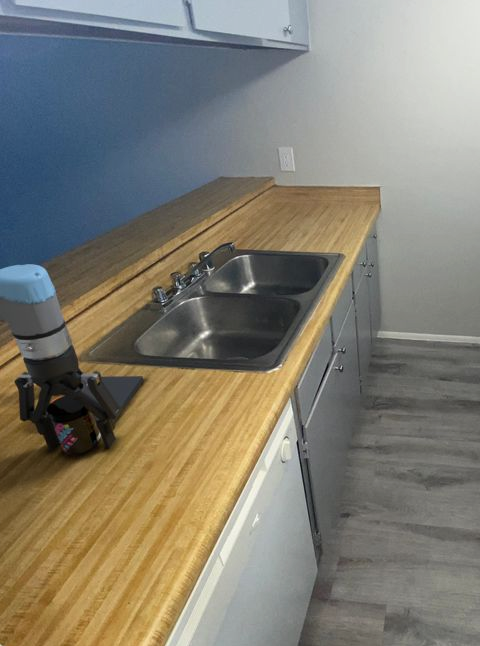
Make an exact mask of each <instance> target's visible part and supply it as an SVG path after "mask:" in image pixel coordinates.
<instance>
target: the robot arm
mask: <svg viewBox="0 0 480 646" xmlns="http://www.w3.org/2000/svg"><path fill="white" fill-rule="evenodd" d="M56 292H57V290H56V288H55V286H54V284H53V282H52V280H51V278H50V275H49V273H48V270H47V269H45V268H44V267H43V266H41V265H38V264H31V263H27V264H15V265H9V266H5V267H3V268H0V322H2V323H3V322H6V323H7V324H8V326H9V329H10V330H11V334H12V336H13V338H14V340H15V343H16V345H17V348H18V350H19V352H20V355H21V356H22V357H23V358H22V361H23V363H24V365H25V368H26V371H23V372H22V373H21V374H20V375H19V376H18V377H17V378H16V379H15V380H14V384H15V386H16V388H17V391H18V408H19V420H20V421H21V422H27V421H29V422H31V423H32V424H33V425H34V426H35V427H36V431H37V434H39V435H40V436H43V438H44V441H45V443H46V446H47V448H48V451H54V450H55V449H56V448H57V446H58V445H59V444H60V442H59V439H58V437H57V434H56V432H55V429H54V427H53V424H52V422H51V420H50V418H49V415H47V416H46V414H47V407H48V406H49V404H50V403H51V402H52V398H53V396H55V397H57V396H64V395H69V396H70V397H71V398H72V399H74V400H75V399H76V400H78V401H79V402H80V403H81V404H82V405H83V406H84V407H85V408H87V409H88V410H89V411H90V412H91V413H92V414H93V415H94V416H96V417H97V418H98V419H99V421H98V422H97V425H98V428H99V431H100V434H101V437H102V438H101V441H102V443H103V445H104V448H105V449H106V450H108V449H111V447H112V446H113V444H114V442H115V441H116V435H115V433H114V431H115V430H116V423H115V422H114V420H113V419H115V418H116V417H117V416H118V414H119V413H120V411H121V408H120V406H119V405H118V403H117V402H116V400H115V399H114V398H113V396H112V395H111V393H110V392H109V390H108V389H107V387H106V386H105V385H104V383H103V382H102V378H101V377H102V375H101V372H100V371H98V370H94V371H93V372H92V373H84V372H83V371H82V370H81V368H80V366H79V358H78V355H77V352H76V349H75V347H74V345H73V340H72V337H71V335H70V331H69V329H68V326H67V323H66V321H65V319H64V315H63V311H62V308H61V306H60V303H59V299H58V296H57V293H56ZM83 381H84V382H85V383H86V384H85V383H84V382H83ZM35 386H37V387H39V388H40V391H39V394H38V400H37V403H36V402H35ZM78 387H79V390H78V391H77V392H76V389H77V388H78ZM88 387H89V389H90V390H89V389H88ZM35 403H36V405H35ZM45 416H46V417H45Z"/></svg>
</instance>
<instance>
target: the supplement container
mask: <svg viewBox="0 0 480 646" xmlns="http://www.w3.org/2000/svg"><path fill="white" fill-rule="evenodd" d="M62 396H63V397H61V396H59V397H60V398H58V397H57V398H58V399H56V400H55V401H53V402H52V401H51V402H52V403H51V402H50V403H51V404H50V405H49V406H48V407H47V413H48V415H49V418H50V420H51V422H52V424H53V427H54V429H55V432H56V434H57V437H58V439H59V444H60V447H61V449H62V452H63V453H64V454H66V455H68V456H72V457H78V456H84V455H86V454H89V453H90V452H93V451H94V450H96V449H97V448H98V446H99V445H100V444H101V442H102V437H101V434H100V431H99V428H98V425H97V422H96V419H95V416H94V415H93V414H92V413H91V412H90V411H89V410H88V409H87V408H85V407H84V406H83V405H82V404H81V403H80V402H79V401H78V400H76V399H75V400H74V399H72V398H71V397H70V396H69V395H66V396H64V395H62Z"/></svg>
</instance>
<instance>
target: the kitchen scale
mask: <svg viewBox="0 0 480 646" xmlns="http://www.w3.org/2000/svg"><path fill="white" fill-rule="evenodd" d="M101 378H102V382H103V383H104V385H105V386H106V387H107V389H108V390H109V392H110V393H111V395H112V396H113V398H114V399H115V400H116V402H117V403H118V405H119V406H120V408H121V411H120V413H119V414H118V416H117V417H116V418H115V419H113V420H114V423H115V422H116V421H117V420H118V418H119V417H120V415H122V412H123V411H124V409H126V407H127V405H128V404H129V403H130V401H131V399H132V398H133V397H134V395H135V394H136V392H137V391H138V390H139V388H140V386H141V385H142V384H143V382H144V376H143V375H127V376H126V375H125V376H124V375H121V376H119V375H117V376H116V375H115V376H113V375H112V376H101ZM83 382H84V381H83ZM84 383H85V382H84ZM85 384H86V383H85ZM88 389H89V387H88ZM78 390H79V387H78V388H77V389H76V392H77V391H78ZM89 390H90V389H89ZM63 396H66V395H63ZM50 404H51V402H50ZM50 404H49V405H50ZM47 415H48V413H47V414H46V415H45V417H46V416H47ZM95 419H96V422H98V421H99V419H98V418H97V417H96V416H95Z"/></svg>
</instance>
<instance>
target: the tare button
mask: <svg viewBox="0 0 480 646" xmlns="http://www.w3.org/2000/svg"><path fill="white" fill-rule="evenodd" d="M63 396H64V395H60V396H58V397H55V398H54V399H51V401H50V403H52V402H53V401H55V400H56V399H58V398H60V397H63Z"/></svg>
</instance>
